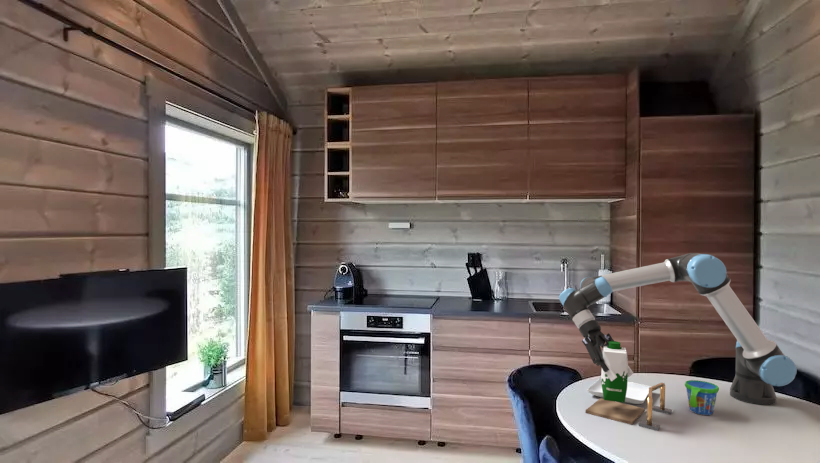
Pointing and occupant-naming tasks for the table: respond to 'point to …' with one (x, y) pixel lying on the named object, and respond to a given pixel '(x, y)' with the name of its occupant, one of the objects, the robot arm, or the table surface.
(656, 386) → the copper wire
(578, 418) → the table surface
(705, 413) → the snack cup
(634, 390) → the salad plate
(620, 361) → the soya milk
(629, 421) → the walnut board
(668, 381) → the table surface
